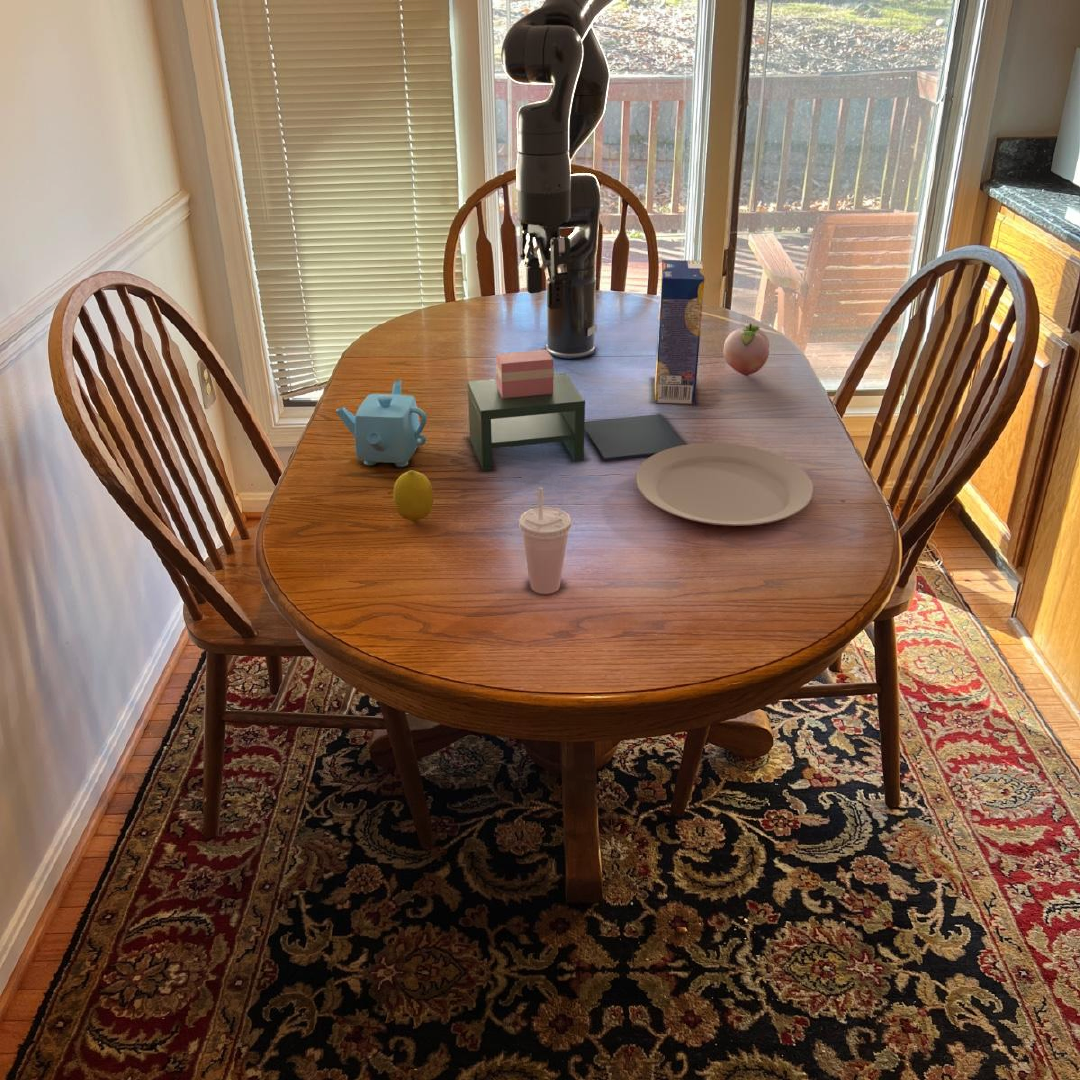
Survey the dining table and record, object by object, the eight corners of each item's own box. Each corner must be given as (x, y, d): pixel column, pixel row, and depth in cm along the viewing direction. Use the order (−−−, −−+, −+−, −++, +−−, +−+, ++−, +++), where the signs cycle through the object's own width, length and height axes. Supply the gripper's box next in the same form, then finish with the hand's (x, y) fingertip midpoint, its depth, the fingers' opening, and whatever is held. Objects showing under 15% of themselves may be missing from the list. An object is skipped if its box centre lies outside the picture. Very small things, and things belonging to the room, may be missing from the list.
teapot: (417, 484, 151) (412, 422, 146) (325, 479, 153) (318, 418, 147) (440, 433, 167) (436, 375, 161) (357, 429, 168) (351, 372, 163)
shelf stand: (469, 438, 165) (467, 381, 160) (565, 428, 168) (565, 372, 163) (483, 471, 155) (480, 411, 150) (583, 460, 158) (585, 401, 153)
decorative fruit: (722, 365, 192) (727, 313, 187) (766, 368, 191) (772, 316, 186) (719, 383, 184) (724, 330, 179) (765, 386, 183) (771, 333, 178)
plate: (840, 528, 139) (842, 515, 138) (661, 544, 136) (661, 531, 135) (774, 448, 161) (775, 437, 160) (617, 461, 157) (618, 449, 156)
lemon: (441, 515, 143) (438, 464, 139) (424, 534, 139) (421, 482, 134) (405, 509, 145) (401, 459, 140) (388, 527, 140) (383, 476, 136)
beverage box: (692, 380, 186) (701, 260, 174) (694, 404, 176) (704, 279, 165) (654, 378, 186) (661, 259, 175) (655, 402, 177) (662, 278, 166)
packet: (496, 387, 157) (495, 353, 154) (547, 383, 159) (547, 349, 156) (502, 398, 153) (501, 363, 151) (553, 393, 155) (554, 359, 152)
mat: (580, 424, 169) (580, 421, 169) (660, 416, 172) (660, 413, 172) (604, 461, 157) (604, 458, 157) (689, 451, 160) (689, 449, 160)
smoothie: (518, 573, 130) (516, 476, 123) (567, 570, 130) (569, 474, 123) (521, 601, 125) (520, 501, 117) (573, 598, 125) (575, 499, 118)
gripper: (588, 192, 136) (586, 310, 144) (550, 174, 147) (550, 284, 156) (536, 197, 134) (537, 317, 142) (501, 178, 145) (504, 290, 153)
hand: (544, 300), depth 149 cm, fingers open, 8 cm apart
